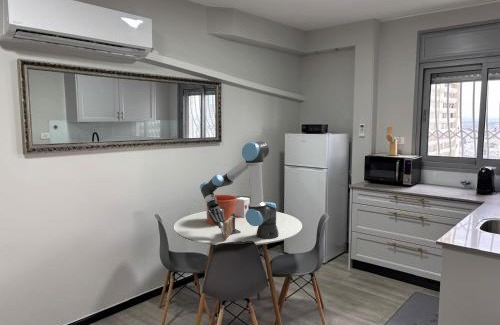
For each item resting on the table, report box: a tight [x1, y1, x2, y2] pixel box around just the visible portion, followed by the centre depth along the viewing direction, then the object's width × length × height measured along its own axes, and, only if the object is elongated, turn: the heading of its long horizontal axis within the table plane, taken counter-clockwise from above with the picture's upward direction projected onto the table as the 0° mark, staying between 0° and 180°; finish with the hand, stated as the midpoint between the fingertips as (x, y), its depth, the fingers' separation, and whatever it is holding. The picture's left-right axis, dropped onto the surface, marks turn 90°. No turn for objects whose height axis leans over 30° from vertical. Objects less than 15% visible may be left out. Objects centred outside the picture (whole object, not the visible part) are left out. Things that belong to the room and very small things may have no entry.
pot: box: [204, 194, 238, 226], centre depth 286 cm, size 25×25×19 cm
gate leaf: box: [223, 216, 233, 240], centre depth 246 cm, size 18×2×10 cm, turn 169°
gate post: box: [230, 213, 241, 235], centre depth 257 cm, size 8×8×14 cm
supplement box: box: [235, 196, 250, 218], centre depth 304 cm, size 9×9×15 cm
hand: (223, 231), depth 241 cm, fingers closed
